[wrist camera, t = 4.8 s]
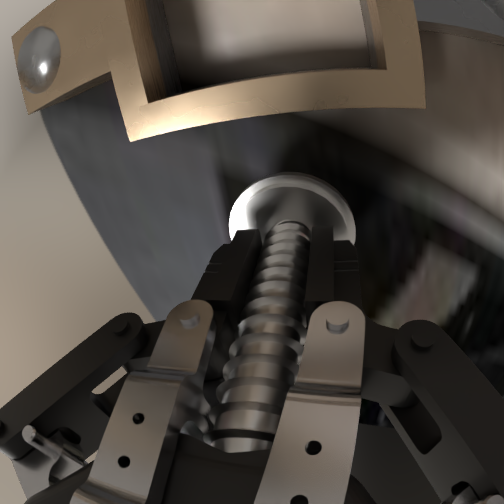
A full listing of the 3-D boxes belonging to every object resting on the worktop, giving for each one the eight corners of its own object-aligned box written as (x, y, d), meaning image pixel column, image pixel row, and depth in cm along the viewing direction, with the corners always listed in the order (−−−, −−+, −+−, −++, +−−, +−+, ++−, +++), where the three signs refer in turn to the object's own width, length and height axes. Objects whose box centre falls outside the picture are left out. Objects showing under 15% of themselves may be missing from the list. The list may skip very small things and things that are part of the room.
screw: (369, 227, 13) (281, 267, 15) (313, 134, 11) (220, 191, 13) (380, 578, 3) (208, 553, 5) (219, 625, 1) (46, 502, 3)
